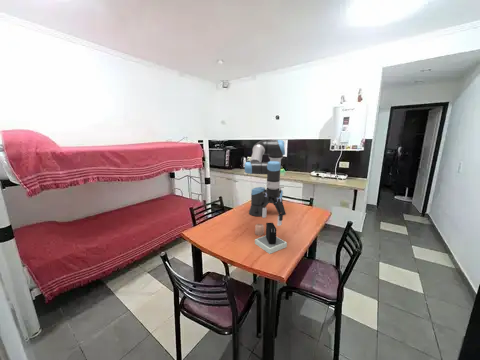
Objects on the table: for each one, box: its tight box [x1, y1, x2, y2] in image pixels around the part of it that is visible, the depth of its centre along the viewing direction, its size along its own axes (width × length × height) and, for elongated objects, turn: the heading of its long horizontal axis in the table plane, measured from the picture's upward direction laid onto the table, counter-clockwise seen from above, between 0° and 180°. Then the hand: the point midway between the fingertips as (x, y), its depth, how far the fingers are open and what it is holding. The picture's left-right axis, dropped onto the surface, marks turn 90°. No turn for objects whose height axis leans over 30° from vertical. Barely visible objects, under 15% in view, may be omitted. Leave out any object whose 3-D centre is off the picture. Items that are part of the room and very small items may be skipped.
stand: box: [254, 235, 288, 255], centre depth 126 cm, size 14×14×3 cm
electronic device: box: [265, 222, 277, 244], centre depth 124 cm, size 4×10×10 cm, turn 5°
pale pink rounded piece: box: [254, 223, 265, 237], centre depth 141 cm, size 6×6×6 cm
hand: (271, 221), depth 123 cm, fingers open, 13 cm apart
